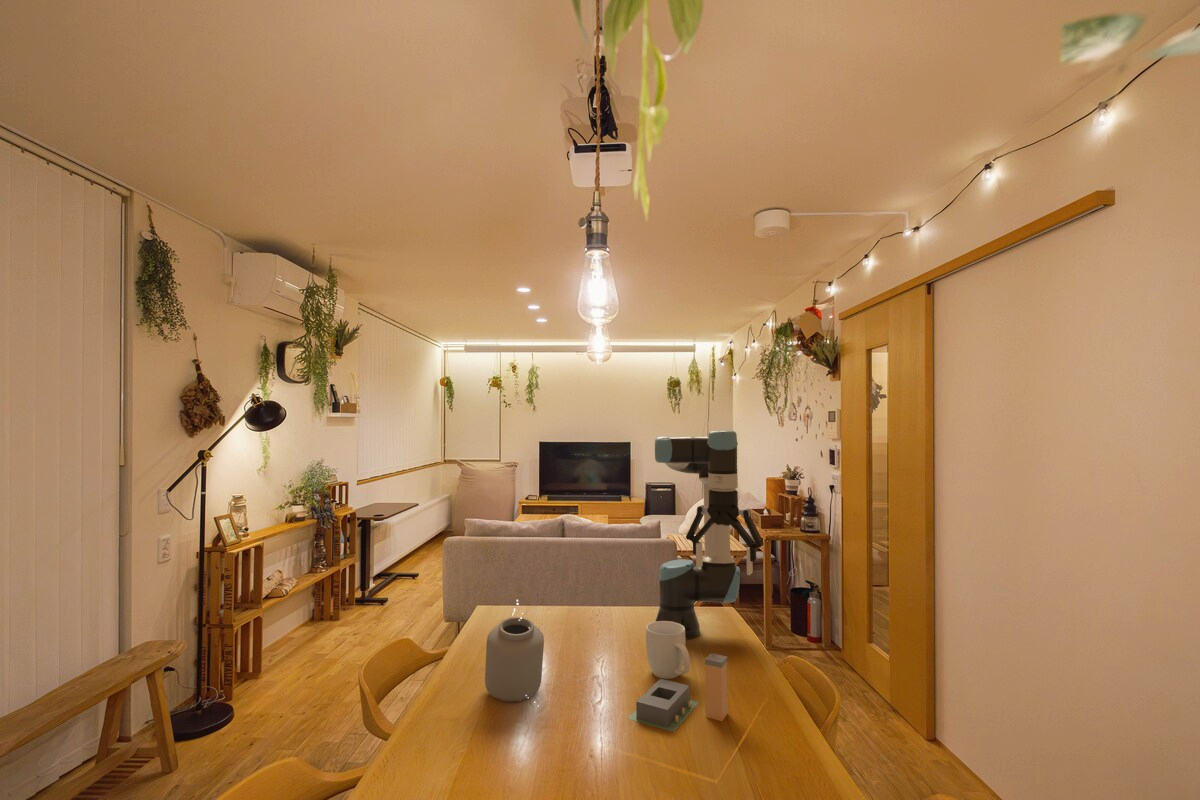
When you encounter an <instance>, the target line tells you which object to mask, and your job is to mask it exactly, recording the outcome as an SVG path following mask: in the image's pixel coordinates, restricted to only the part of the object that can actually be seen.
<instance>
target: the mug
mask: <svg viewBox="0 0 1200 800" xmlns="http://www.w3.org/2000/svg"><path fill="white" fill-rule="evenodd" d="M686 643H687V642H686V639H685V627H684V626H683V625H681V624H679V623H675V622H670V621H657V622H655V621H653V622H650V623H647V625H646V626H645V646H646V647H645V649H646V657H647V661H648V664H649V668H650V670H651V672H652V674H653V675H654V676H655V677H656V678H660V679H664V680H669V679H675V678H677V677H678V676H682V675H686V674H687V673H688V672H689V670H690V667H691V658H690V654H689V650H688V649H687V647H686ZM683 666H684V667H683ZM682 669H683V670H682Z"/></svg>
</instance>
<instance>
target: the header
mask: <svg viewBox="0 0 1200 800" xmlns="http://www.w3.org/2000/svg"><path fill="white" fill-rule="evenodd" d="M690 690H691V687H690V685H688V684H684V683H680V682H677V681H672V680H669V679H664V678H660V679H659V680H658V681H656V682H655V683H654V684H653V685H652V686H651V687H650V688H649V689H648V690H647V691H645V693H643V694H642V696H640V697H639V698H638V700H636V701H635V703H636V704H635V705H636V707H635V710H634V711H633V712H632V713H631V714H630V715H629V716H628V717H627V718H626V719H627V720H630V721H634V722H637V723H641V724H644V725H647V726H651V727H655V728H658V729H662V730H665V731H668V732H673V733H675V732H676V730H677V729H678V728H679V727H680V726H681V724H682V723H683V722H684V721H685V720H686V718H688V717H689V715H690V713H691V712H692V711H693V710H694V709H695V708H696V707H697V705H698V704H699V701H696V700H692V699H691V691H690Z"/></svg>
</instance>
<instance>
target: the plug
mask: <svg viewBox="0 0 1200 800" xmlns="http://www.w3.org/2000/svg"><path fill="white" fill-rule="evenodd" d="M704 665H705V667H704V669H705V671H704V672H705V676H704V677H705V679H704V680H705V718H708V719H712V720H716V721H719V722H723V721H724V719H725V718H727V715H728V714H729V713H728V711H729V710H728V709H729V708H728V707H729V706H728V699H729V698H728V656H725V655H721V654H716V653H711V652H710V654H709V655H708V656H706V657H705V658H704Z"/></svg>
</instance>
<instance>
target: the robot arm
mask: <svg viewBox="0 0 1200 800" xmlns="http://www.w3.org/2000/svg"><path fill="white" fill-rule="evenodd" d="M707 435H708V436H668V435H666V436H657V437H656V438H655V439H654V460H655V463H660V464H661V463H662V464H665V465H666V466H667V467H668V468H669V469H672V470H674V471H676V472H679V473H685V474H694V475H695V474H696V475H697V474H698V480H699V481H701V483H702V485H703V504H702V505H698V506H697V507H696V515H695V516H694V518H693V521H692V523H691V524H690V527H689V530H688V532H687V533H686V535H685V539H686V540H688V541H691V543H692V554H693V555H695V563H694V561H693V560H691V559H683V558H681V559H674V560H670V561H666V562H663V563H662V564H660V567H659V571H658V573H659V575H658V576H659V577H658V581H659V607H658V608H659V609H658V611H657V616H656V618H655V621H654V622H657V621H670V622H675V623H679V624H681V625H683V626H684V627H685V640H689V639H693V638H696V637H697V636H699V635H700V633H701V632H700V631H701V630H700V627H701V626H700V622H699V620H698V617H697V614H696V613H697V612H696V611H695V602H703V603H705V602H706V603H711V602H712V603H721V604H724V603H735V602H736V601H737V599H738V597H739V596H738V595H739V590H740V580H741V578H740V577H741V575H740V574H741V568H740V567H739V566H738V565H736V560H735V559H734V558H733V557H732V556H731V530H730V529H731V528H730V527H732V528H733V529H734V530H735V531H736V532H737V534H738V535H739V536H740V537H741V539H742V540H743V541H744V542H745V544H746V545H747V546H748V547H747V548H746V575H747V576H751V574H753V572H754V569H753V568H754V566H753V563H754V562H756V560H757V549H758V548H759V549H760V548H761V547H763V546H764V544H765V543H764V541H763V539H762V537H761V535H760V533H759V530H758V529H757V526H756V525H755V522H754V520H753V518H752V514H751V509H750V508H746V509H739V499H738V498H739V494H738V493H739V492H738V488H739V487H738V482H739V481H738V444H739V443H738V435H737V432H736V431H734V430H710V431H709V432H708V434H707ZM739 516H741V518H742V519H744V523H745V525H746V527H747V529H748V531H749V533H750V534H749V533H748V531H746V529H745V527H743V525H742V523H741V521H740V520H739V519H738V517H739ZM702 519H703V526H702V528H700V530H699V531H698V532H697V530H698V528H699V526H700V523H701V522H702ZM696 532H697V533H696ZM702 538H703V539H704V540H703V541H700V540H702ZM703 543H704V555H703Z"/></svg>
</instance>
